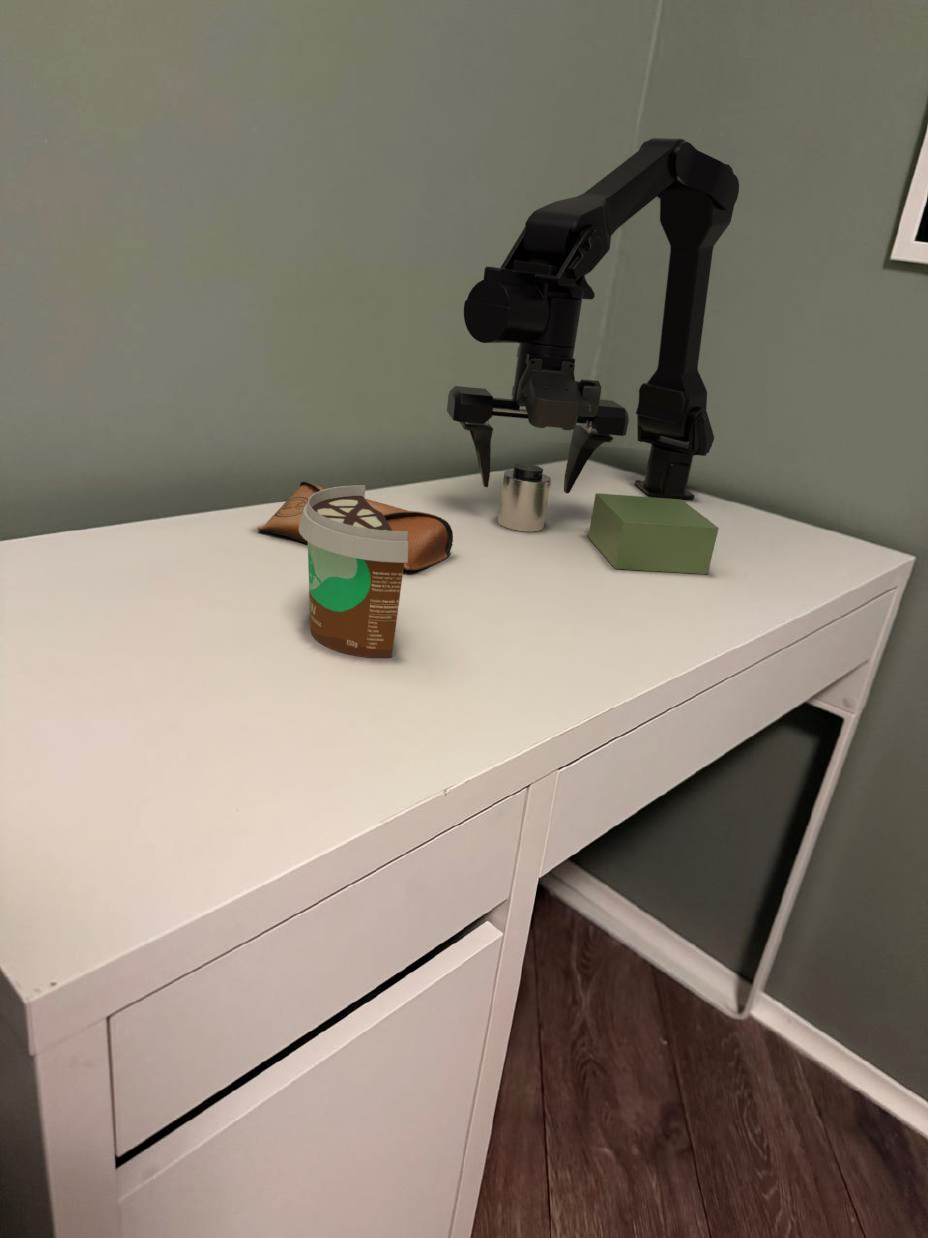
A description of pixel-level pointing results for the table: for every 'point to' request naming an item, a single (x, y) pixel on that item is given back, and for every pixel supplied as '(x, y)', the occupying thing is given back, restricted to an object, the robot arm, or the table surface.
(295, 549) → the table surface
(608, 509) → the green block
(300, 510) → the sunglasses case
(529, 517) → the flask
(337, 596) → the food container
